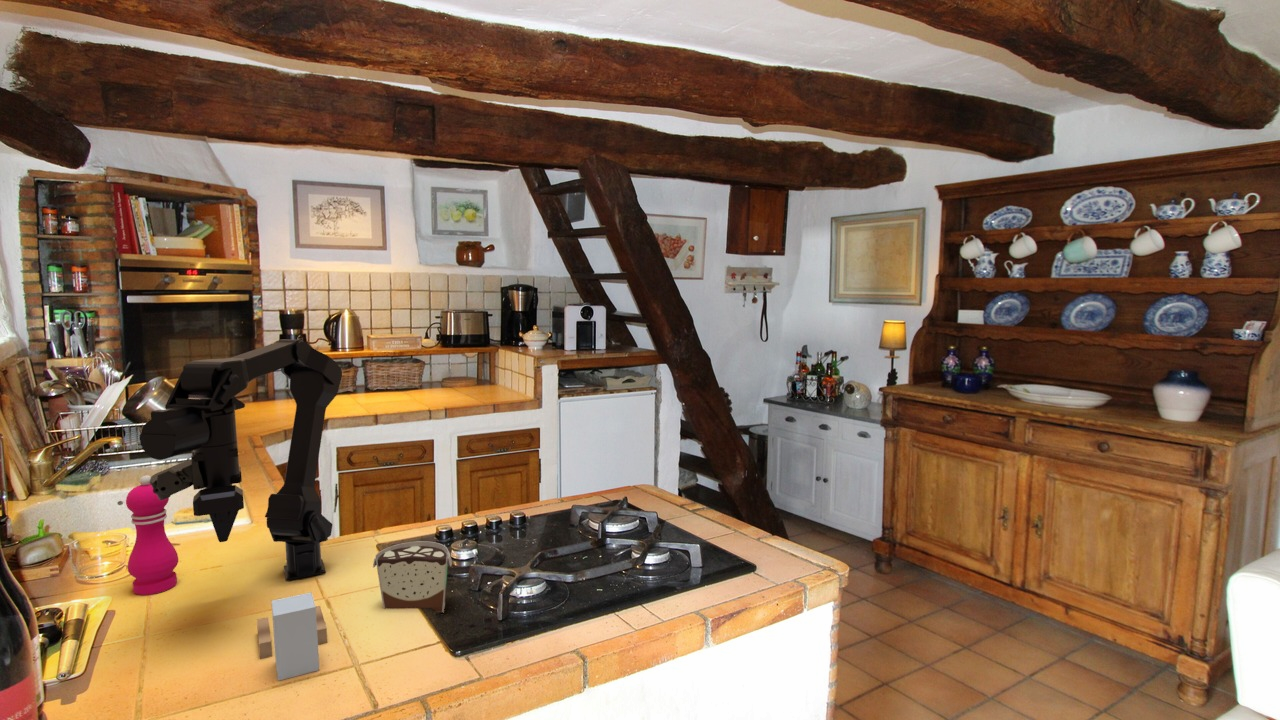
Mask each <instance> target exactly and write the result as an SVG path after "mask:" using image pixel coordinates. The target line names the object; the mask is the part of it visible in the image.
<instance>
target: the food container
mask: <svg viewBox="0 0 1280 720" xmlns="http://www.w3.org/2000/svg"><path fill="white" fill-rule="evenodd" d="M372 563H373V565H372V568H373V569H374V568H375V567H376V569H377V575H378V577H377V578H378V582H379V589H380V595H381V601H382V606H383V607H382V608H383V610H386V609H387V610H389V609H391V610H392V609H393V610H394V609H395V610H396V609H397V610H398V609H399V610H400V609H431V610H432V611H434V612H443V613H444V614H445V611H444V609H445V608H446V596H447V595H446V593H447V578H448V566H449V567H452V565H453V561H452V555H451V553H450V551H449V550H448V548H447V546H445V545H444V544H442V543H439V542H435V541H426V540H425V541H424V540H423V541H421V540H419V541H410V542H403V543H398V544H395V545H391V546H388V547H386V548H384V549H382V550H380V551H379V552H377V553H376V554H375V557H374V559H373V562H372ZM434 612H433V613H434Z"/></svg>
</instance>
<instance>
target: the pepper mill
mask: <svg viewBox="0 0 1280 720" xmlns="http://www.w3.org/2000/svg"><path fill="white" fill-rule="evenodd" d="M151 477H152V476H150V475H147V474H146V475H143V476H141V477H140V479H139V483H140V484H139V485H137V486H135V487H133V488H132V489H130V490H129V492H128V493H127V495H126V499H125V504H126V505H125V506H126V508H127V509H128V510H129V511H130V512H131V513H132V514H131V515H130V518H131V524H133V525H134V526H135V531H136V532H135V533H136V537H135V542H134V545H133V547H132V550H131V552H130V555H129V557H128V562H127V572H128V574H129V575H130V576H132V577H133V578H135V579H134V580H133V581H132V589H133V593H134V594H136V595H138V596H149V595H150V596H151V595H157V594H160V593H162V592H165V591H168V590H171V589H173V588H174V587H176V585H177V584H178V580H177V579H178V577H177V573H176V571H174V570H175V568H176V567H178V564H179V555H178V552H177V550H176V548H175V546H174V545H173V544H172V542H171V541H170V540H169V538H168V536H167V533H166V529H165V520H166V519H167V518H168V516H167V509H166V508H165V507H166V506H167V504H168V503H169V500H170V497H169V498H167V499H164V500H159V498H158V496H157V494H156V493H154V492H153V488H152V486H151V484H150V479H151Z"/></svg>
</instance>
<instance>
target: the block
mask: <svg viewBox="0 0 1280 720" xmlns="http://www.w3.org/2000/svg"><path fill="white" fill-rule="evenodd" d="M270 602H271V615H272V626H273V627H272V628H273V643H274V644H273V645H274V657H275V658H274V659H275V667H276V668H275V669H276V676H277V681H279V682H280V681H283V680H287V679H291V678H294V677H299V676H302V675H307V674H310V673H314V672H317V671H320V658H319V657H320V656H319V655H320V654H319V645H318V637H317V621H316V604H315V599H314V596H313V593H312V592H307V593H302V594H298V595H292V596H287V597H283V598H279V599H273V600H271V601H270Z"/></svg>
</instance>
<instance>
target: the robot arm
mask: <svg viewBox="0 0 1280 720" xmlns="http://www.w3.org/2000/svg"><path fill="white" fill-rule="evenodd" d="M279 370H280V372H281V374H283V375H284V376H285V377H286V378H288V379H289V392H290V394H291V396H292V398H293V400H294V402H295V404H296V407H295V414H294V418H293V419H294V420H293V424H292V425H293V426H292V430H291V431H292V432H291V437H290V445H289V452H288V457H287V462H286V463H287V464H286V468H285V469H286V470H285V471H286V472H285V475H284V483H283V485H282V487H280V489H279V490H278V492H276V493H270V495H269V497H268V501H267V510H266V513H265V515H264V518H266V527H267V529H268V531H269V532H270V533H269V534H270V535H271V538H272V540H273V543H274V542H276V543H277V542H280V543H281V542H282V543H284V545H285V556H286V557H285V558H286V560H285V561H286V564H285V565H284V566H283V572H284V576H285V581H293V580H298V579H303V578H308V577H312V576H318V575H323V574H326V572H327V570H326V567H325V563H324V560H323V558H322V551H321V550H322V549H321V543H324V542H327V541H328V540H329V538H330V537H331V536H332V531H333V523H332V522H331V521H330V520H329V519H328V518H326V516H324V515H323V514H322V500H321V498H320V496H319V493H318V491H317V489H316V487H315V485H316V484H315V483H316V476H317V472H318V465H319V458H320V452H321V451H320V449H321V443H322V438H323V430H324V424H325V416H326V410H327V408H328V406H330V404H331V402H333V400H334V399H335V398H336V397H337V395H338V392H339V389H340V384H341V381H342V380H343V379H342V377H343V371H342V368H341V367H340V366H339V364H338V363H337V361H335V360H334V359H333V358H331V357H330V356H329V355H327V354H325V353H323V352H321V351H319V350H317V349H315V348H314V347H312V346H311V345H310V344H309V343H307V342H306V341H304V340H302V339H289V338H288V339H278V340H275V341H274V342H273V343H269V344H267V345H264V346H261V347H258V348H255V349H253V350H250V351H246V352H244V353H241V354H238V355H235V356H232V357H226V358H225V357H224V358H207V359H200V360H199V359H196V360H192V361H191V360H190V361H189V362H187V363H186V364H184V365H183V367H182V372H181V373H180V375H179V377H178V380H177V381H176V382H175V385H174V387H173V390H172V391H171V394H170V395H169V398H168V400H167V402H166V403H165V405H164V408H165V409H155V410H152V411H151V412H150V420H148V421H147V422H146V423H145V424H144V425H143V427H142V429H141V432H140V434H139V442H140V445H141V448H142V450H143V451H144V453H145V454H146V455H147V456H149V458H151V459H154V460H156V461H159V460H160V461H162V460H166V459H170V458H173V457H176V456H179V455H183V454H186V453H190V452H191V456H190V457H191V458H190V459H189V460H185V461H183V462H180V463H177V464H175V465H173V466H170V467H168V468H166V469H163V470H160V471H159V472H156V473H154V474H153V475H151V476H150V477H151V479H150V484H151V486H152V488H153V492H154V493H156V494H157V496H158V498H159V500H164V499H167V498H169V499H170V497H171V496H172V495H175V494H177V493H179V492H181V491H182V492H183V490H186V489H188V488H190V487H193V491H194V490H199V491H198V492H197V493H196V494H195V495H194V496H193V499H192V507H193V516H194V517H200V516H203V517H204V516H209V517H210V520H211V523H212V526H213V529H214V531H215V535H216V537H217V541H218V542H219V543H225V542H227V541H228V539H229V538H230V535H231V532H232V529H233V526H234V523H235V521H236V520H237V517H238V514H239V511H240V510H243V509H245V504H244V503H245V502H244V493H243V491H244V490H243V489H242V488H240V487H239V486H237V485H236V484H241V483H242V481H243V480H242V468H241V466H240V460H239V448H238V445H239V444H238V436H237V435H238V434H237V422H236V421H237V420H236V411H238V410H240V409H241V410H242V409H244V408H245V407H246V404H245V403H244V402H243V401H241V400H239V399H238V398H237V397H236V396H237V395H239V394H241V393H242V392H244V391H245V390H246V389H247V387H248V385H249V384H250V382H252V381H254V380H256V379H258V378H260V377H263V376H266V375H269V374H271V373H273V372H277V371H279Z"/></svg>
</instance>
